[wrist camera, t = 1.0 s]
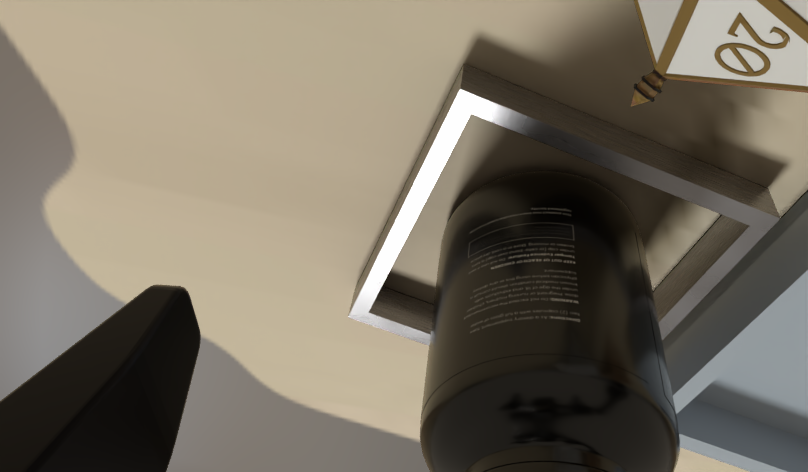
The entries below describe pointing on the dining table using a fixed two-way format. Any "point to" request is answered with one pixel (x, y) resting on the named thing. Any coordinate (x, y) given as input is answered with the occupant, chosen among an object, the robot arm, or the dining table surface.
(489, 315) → the supplement bottle
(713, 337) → the parts tray
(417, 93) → the dining table surface
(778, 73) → the game die
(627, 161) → the grey square frame
